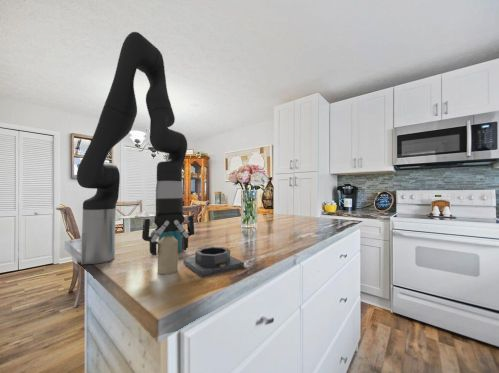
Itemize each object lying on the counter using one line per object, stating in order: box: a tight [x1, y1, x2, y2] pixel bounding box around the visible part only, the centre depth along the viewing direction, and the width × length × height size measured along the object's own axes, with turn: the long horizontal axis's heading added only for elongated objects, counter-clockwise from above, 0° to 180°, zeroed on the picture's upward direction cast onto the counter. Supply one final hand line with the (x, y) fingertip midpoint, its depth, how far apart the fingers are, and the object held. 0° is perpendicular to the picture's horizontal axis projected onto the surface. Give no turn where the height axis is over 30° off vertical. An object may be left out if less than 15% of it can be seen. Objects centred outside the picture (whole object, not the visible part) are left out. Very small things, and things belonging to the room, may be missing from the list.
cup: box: [149, 222, 184, 253], centre depth 86 cm, size 9×12×11 cm
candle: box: [157, 236, 179, 275], centre depth 64 cm, size 6×6×10 cm
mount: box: [182, 246, 245, 278], centre depth 69 cm, size 14×14×4 cm
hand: (169, 252), depth 64 cm, fingers open, 8 cm apart
